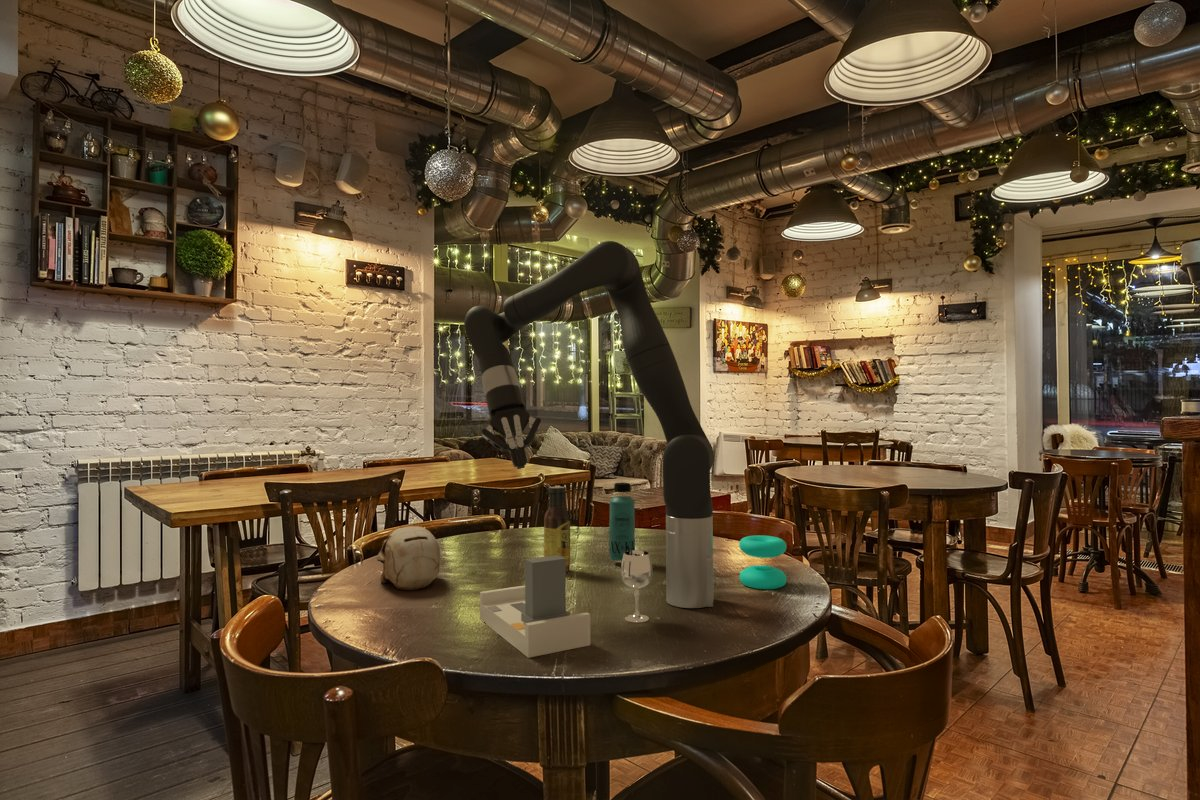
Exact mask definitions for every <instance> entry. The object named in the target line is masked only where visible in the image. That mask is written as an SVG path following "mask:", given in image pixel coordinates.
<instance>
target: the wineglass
mask: <svg viewBox="0 0 1200 800" xmlns="http://www.w3.org/2000/svg"><path fill="white" fill-rule="evenodd" d="M620 575H621V579H622V582H623V583H624V584H625V585H626V586H628V587H629V588H632V589H634V591H633V592H634V593H633V595H634V599H635V600H634V601H635V610H634V613H633V614H629V615H626V616H625V617H624V620H625V621H626V622H630V623H645V622H648V621H649V620H650V618H649V616H647V615H645V614H641V613H640V611H639V599H640V594H641V593H640V590H639V589H643V588H645V587H646V586H647V585H649V584H650V583H651V581H652V577H653V563H652V560H651V555H650V552H649V551H647V550H639V549H638V550H636V549H635V550H632V551H626V552H624V555H623V559H622V561H621V566H620Z"/></svg>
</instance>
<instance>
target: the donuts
mask: <svg viewBox="0 0 1200 800" xmlns="http://www.w3.org/2000/svg"><path fill="white" fill-rule="evenodd" d="M738 546H739V548H740V550H741V552H742V553H744V554H745V555H747V556H749V557H754V558H762V559H771V558H777V557H780V556H782V555H783V554H784V553H785V552H786V550H787V548H788V547H787V543H786V541H785V540H783V539H782V538H780V537H777V536H771V535H763V534H762V535H758V534H757V535H748V536H745V537H742V538H741V539H740V541H739V544H738ZM739 581H740V582H741V583H742V584H743V585H744V586H746V587H749V588H752V589H758V590H776V589H779V588H782V587H784V586H785V585H786V583H787V581H788V578H787V574H786V573H785V572H784V571H783V570H781V569H779V568H778V567H775V566H771V565H763V564H762V565H761V564H760V565H757V564H756V565H750V566H747V567H744V569H742V570H741V571H740V573H739Z"/></svg>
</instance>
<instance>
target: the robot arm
mask: <svg viewBox="0 0 1200 800" xmlns="http://www.w3.org/2000/svg"><path fill="white" fill-rule="evenodd" d="M599 287H600V288H601V287H604V288H605V290H606V291H607V294H608V295H609V297H610V298H611V301H612V304H613V305H614V307H615V310H616V312H617V315H618V317H619V323H620V328H621V329H620V331H621V337H622V338H621V339H622V345H623V349H624V350H623V351H624V354H625V358H626V361H627V363H628V366H629V368H630V370H631V373H632V376H633V378H634V381H635V382H636V385H637V387H638V388H639V390H640V392H641V394H642V395H643V396H644V398H645V400H646V402H647V403H648V404H649V406H650V408H651V409H652V410H653V412H654V413H655V415H656V417H657V419H658V422H659V423H660V426H661V428H662V429H661V430H662V431H663V434H664V438H665V440H666V444H667V445H665V447H664V448H665V449H663V455H662V487H663V488H662V490H663V491H662V493H663V495H662V496H663V501H664V505H665V570H666V571H665V576H666V577H665V579H666V580H665V581H666V583H665V584H666V585H665V587H666V588H665V593H666V598H665V600H666V603H667V604H669V605H671V606H673V607H677V608H682V609H683V608H685V609H700V608H706V607H707V608H713V607H714V599H715V598H714V544H713V543H714V540H713V539H714V536H713V534H714V533H713V532H714V530H713V525H714V524H713V523H714V521H713V520H714V519H713V518H714V515H713V513H714V512H713V510H714V508H713V507H714V505H713V501H712V495H711V493H712V492H711V469H712V467H713V465H714V462H715V451H714V449H713V446H712V443H711V442H710V440H709V438H708V437H707V434H706V433H705V431H704V428H703V427H702V425H701V423H700V421H699V420H698V418H697V416H696V414H695V411H694V409H693V407H692V405H691V402H690V398H689V395H688V392H687V389H686V385H685V382H684V380H683V377H682V373H681V371H680V368H679V365H678V362H677V359H676V356H675V354H674V351H673V349H672V347H671V344H670V342H669V340H668V338H667V335H666V333H665V331H664V328H663V326H662V324H661V321H660V320H659V318H658V315H657V314H656V312H655V309H654V308H653V306H652V304H651V300H650V297H649V295H648V291H647V288H646V285H645V281H644V278H643V274H642V270H641V267H640V264H639V260H638V259H637V256H636V254H635V253H634V252H633V251H632V250H631V249H629V248H628V247H626V246H625V245H623V244H622V243H620V242H618V241H615V240H606V241H603V242H600V243H598V244H596V245H595V246H594V247H592V248H590V249H589V250H587V252H585V253H584V254H583V255H581V256H580V257H578V258H577V259H575V260H574V261H573V262H571V263H570V264H568V265H566V266H565V267H563V268H562V269H561V270H559V271H556V273H554V274H553V275H550V276H548V277H547V278H545V279H544V280H543V279H542V280H541V281H539V282H538V283H535V284H533V285H531V286H529V287H527V288H526V289H523V290H521V291H519V292H517V293H515V294H513V295H511V296H509V297H507V298H506V299H505V300H504V302H503V304H502V309H503V312H500V313H496V312H495V311H493V310H492V309H490V308H489V307H487V306H484V305H475V306H473V307H471V308H470V309H469V310H468V311H467V312H466V314H465V318H464V321H463V326H464V331H465V334H466V337H467V339H468V342H469V344H470V346H471V348H472V351H473V353H474V355H475V356H476V358H477V360H478V365H479V370H480V373H481V374H480V375H481V379H482V380H481V381H482V388H483V394H484V397H485V401H486V405H487V409H488V414H489V421H488V426H487V427H486V428H483V429H482V430H481V438H483V439H484V440H485V441H486V442H488V443H489V444H490V445H492V446H493V447H495V448H496V449H497V450H498V451H499V452H501V453H504V452H505V453H506V452H507V453H509V455H510V458H511V463H512V466H513V468H517V469H516V470H521V469H525V467H526V465H527V463H528V458H527V456H526V450H525V449H526V448H530V447H531V446H532V443H533V442H534V440H535V438H536V436H537V434H538V432H539V430H540V428H541V424H542V420H541V418H540V417H536V418H535V417H533V416H531V414H530V412H529V411H528V410H527V408H526V405H525V401H524V398H523V394H522V390H521V385H520V382H519V381H520V380H519V379H518V376H517V374H516V371H515V367H514V363H513V359H512V356H511V353H510V350H509V348H508V347H507V346H506V345H505V344H504V343H505V342H507V341H508V340H510V339H511V338H512V337H513V336H515V335H516V334H517V333H518V332H519V331H521V329H523V327H525V326H528V325H529V324H532V323H534V322H536V321H539V320H540V319H542V318H544V317H546V316H548V315H550V314H551V313H554V311H556V310H557V309H558V308H560V307H561V306H562V305H563V304H565V303H566V302H568V301H569V299H570V300H571V299H572V298H573V297H575V296H578V295H579V294H582V293H584V292H586V291H589V290H593V289H596V288H599ZM528 423H529V431H528V434H527V436H526V438H525V439H524V438H523V433H524V432H525V431H526V428H527V425H528ZM495 433H497V434H498V435H499V436H501V437H502V438H504V440H505V442H504V441H503V440H502V439H500V438H499V437H498V436H496V435H495ZM514 437H515V440H514Z"/></svg>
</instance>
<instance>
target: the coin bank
mask: <svg viewBox="0 0 1200 800" xmlns="http://www.w3.org/2000/svg"><path fill="white" fill-rule="evenodd" d="M376 561H377V562H380V563H382V573H381V575H380V578H379V581H380V582H381V584H388V583H389V584H390V583H392V584H393V585H394V587H395V588H396V589H398V590H401V591H402V590H403V591H414V590H419V588H421V589H424V588H427V587H428V586H430V584H431V583H432V582H433V581H434V580H435V579H436V578H437V576H438V575H439V573H440V572H439V571H440V566H441V550H440V546H439V543H438V541H437V539H436V537H435V536H434V535H433V534H432V533H431V531H430V530H428V529H426V528H425V529H424V527H422V526H417V525H416V526H404V527H400V528H396V529H395V530H393V531H392V532H391V533H390V534H389V535H388V536H387V538H386V539H384V540H383V542H382V547H381V548H380V550H379V552H378V553H377V557H376ZM426 586H427V587H426Z"/></svg>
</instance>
